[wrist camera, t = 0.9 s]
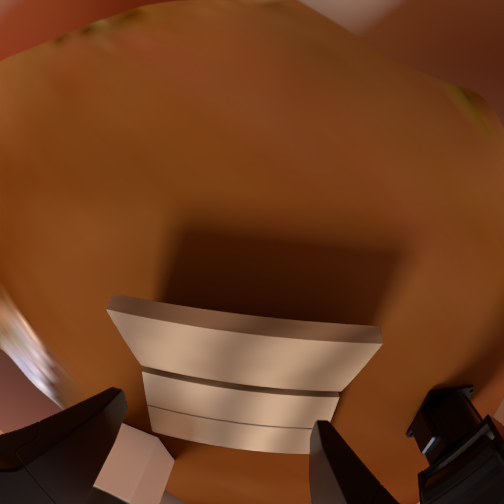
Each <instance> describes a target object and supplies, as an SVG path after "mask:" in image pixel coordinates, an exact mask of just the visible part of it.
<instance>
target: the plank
mask: <svg viewBox="0 0 504 504" xmlns="http://www.w3.org/2000/svg"><path fill="white" fill-rule="evenodd" d="M106 310H107V312H108V313H109V315H110V317H111V319H112V320H113V322H114V324H115V325H116V327H117V329H118V330H119V332H120V333H121V335H122V337H123V338H124V340H125V341H126V343H127V345H128V346H129V348H130V349H131V351H132V352H133V354H134V355H135V357H136V358H137V360H138V361H139V363H140V364H141V365H142V366H146V367H150V368H154V369H159V370H163V371H168V372H172V373H177V374H182V375H187V376H193V377H198V378H204V379H210V380H216V381H222V382H229V383H236V384H244V385H252V386H261V387H271V388H282V389H295V390H313V391H342V390H343V389H344V388H345V387H346V386H347V385H348V384H349V383H350V382H351V381H352V379H353V378H354V377H355V376H356V375H357V374H358V373H359V372H360V370H361V369H362V368H363V367H364V366H365V365H366V363H367V362H368V361H369V360H370V359H371V358H372V356H373V355H374V354H375V353H376V352H377V350H378V349H379V348H380V347H381V345H382V344H383V342H382V335H381V328H380V326H371V325H352V324H337V323H324V322H311V321H300V320H289V319H279V318H270V317H261V316H252V315H244V314H236V313H228V312H221V311H213V310H206V309H199V308H193V307H186V306H180V305H174V304H168V303H162V302H156V301H150V300H144V299H139V298H134V297H128V296H123V295H118V294H113V296H112V298H111V300H110V302H109V304H108V306H107V308H106Z"/></svg>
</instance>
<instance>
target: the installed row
mask: <svg viewBox="0 0 504 504" xmlns="http://www.w3.org/2000/svg"><path fill="white" fill-rule="evenodd" d="M142 375H143V382H144V388H145V395H146V401H147V406H148V412H149V417H150V422H151V427H152V432H156V433H160V434H164V435H168V436H172V437H176V438H180V439H185V440H189V441H194V442H199V443H205V444H210V445H216V446H222V447H229V448H236V449H244V450H253V451H263V452H276V453H295V454H310V435H311V432H312V429H313V427H314V424H315V421H316V420H328V421H329V422H330V421H331V419H332V416H333V413H334V411H335V408H336V405H337V403H338V400H339V394H338V391H313V390H295V389H282V388H271V387H261V386H252V385H244V384H236V383H229V382H222V381H216V380H210V379H204V378H198V377H193V376H187V375H182V374H177V373H172V372H168V371H163V370H159V369H154V368H150V367H146V366H145V368H144V369H143V371H142Z"/></svg>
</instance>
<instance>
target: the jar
mask: <svg viewBox="0 0 504 504" xmlns="http://www.w3.org/2000/svg"><path fill="white" fill-rule="evenodd" d="M174 462H175V461H174V459H173V458H172V456H171V455H170V454H169V452H168V451H167V449H166V448H165V447H164V445H163V444H162V442H161V441H160V439H159V438H158V437H156V436H153V435H151V434H148V433H146V432H143V431H141V430H138V429H136V428H133V427H131V426H129V425H126V424H124V423H122V425H121V427H120V430H119V433H118V436H117V438H116V441H115V443H114V445H113V447H112V449H111V451H110V453H109V455H108V457H107V459H106V461H105V463H104V465H103V467H102V469H101V471H100V473H99V475H98V477H97V479H96V481H95V483H94V485H93V487H92V489H91V491H90V493H89V495H88V497H87V499H86V502H85V504H159V503H160V501H161V498H162V495H163V492H164V489H165V487H166V484H167V481H168V478H169V476H170V473H171V470H172V467H173V465H174Z"/></svg>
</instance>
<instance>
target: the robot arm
mask: <svg viewBox="0 0 504 504" xmlns="http://www.w3.org/2000/svg"><path fill="white" fill-rule="evenodd" d="M474 390H475V387H474V386H473V385H469V386H463V387H456V388H449V389H441V390H433V391H431V392H429V393H428V395H427V397H426V398H425V400H424V402H423V404H422V406H421V408H420V410H419V412H418V413H417V415H416V417H415V419H414V420H413V422H412V424H411V426H410V427H409V429H408V431H407V432H406V435H407V437H408V438H410V437H415V440H416V442H417V444H418V447H419V449H420V451H421V453H422V454H425V455H426V458H427V460H428V463H429V465H430V466H429V467H428V468H427V469H425V470H424V471H421V472H420V473H418V485H419V496H420V504H504V426H503V424H502V423H501V422H499V421H498V420H496V419H495V418H494V417H492V416H491V415H489V414H488V415H487V416H486V417H485V418H484V420H483V419H482V417H481V416H480V414H479V413H478V411H477V410H476V409H475V407H474V406H473V404H472V403H471V401H470V400H469V399H470V398H471V396H472V394H473V392H474ZM126 411H127V402H126V398H125V394H124V391H123V390H122V389H119V388H116V387H111V388H109V389H107V390H105V391H103V392H101V393H99V394H97V395H95V396H93V397H91V398H89V399H86V400H84V401H82V402H80V403H78V404H76V405H74V406H72V407H70V408H67V409H65V410H63V411H61V412H59V413H57V414H54V415H52V416H50V417H48V418H45V419H43V420H41V421H40V422H36V423H34V424H31V425H29V426H26V427H24V428H21V429H18V430H15V431H12V432H9V433H5V434H1V435H0V504H85V502H86V499H87V497H88V495H89V493H90V491H91V489H92V487H93V485H94V483H95V481H96V479H97V477H98V475H99V473H100V471H101V469H102V467H103V465H104V463H105V461H106V459H107V457H108V455H109V453H110V451H111V449H112V447H113V445H114V443H115V441H116V438H117V436H118V433H119V430H120V427H121V425H122V422H123V419H124V417H125V414H126ZM494 437H495V438H494ZM493 438H494V439H493ZM492 439H493V440H492ZM309 483H310V492H311V502H312V504H400V503H399V502H397V501H396V500H395V499H394V498H393V496H392V495H391V494H390V493H389V492H388V491H387V490H386V489H385V488H384V487H383V485H380V484H381V483H380V482H379V481H378V480H377V479H376V477H375V476H374V475H373V474H372V473H371V472H370V470H369V469H368V468H367V467H366V466H365V465H364V463H363V462H362V461H361V460H360V459H359V457H358V456H357V455H356V454H355V453H354V451H353V450H352V449H351V448H350V447H349V445H348V444H347V443H346V442H345V440H344V439H343V438H342V437H341V436H340V434H339V433H338V432H337V431H336V429H335V428H334V427H333V426H332V424H331V423H330V422H329V421H328V420H316V421H315V424H314V427H313V429H312V432H311V435H310V455H309Z"/></svg>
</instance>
